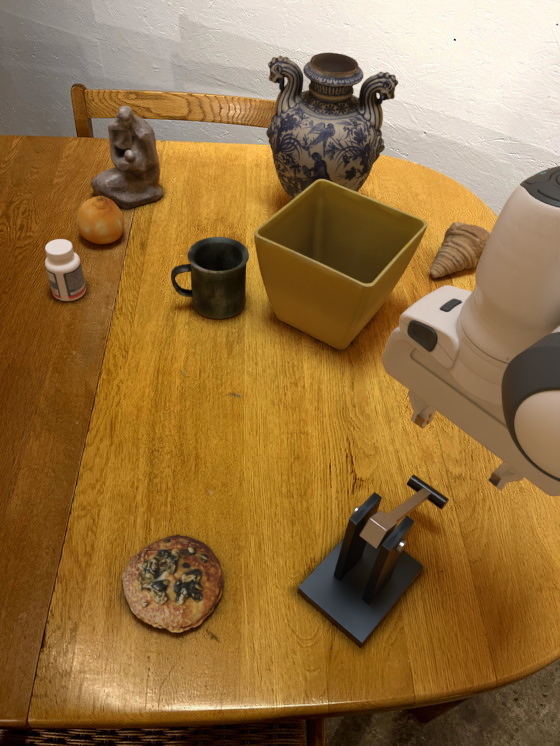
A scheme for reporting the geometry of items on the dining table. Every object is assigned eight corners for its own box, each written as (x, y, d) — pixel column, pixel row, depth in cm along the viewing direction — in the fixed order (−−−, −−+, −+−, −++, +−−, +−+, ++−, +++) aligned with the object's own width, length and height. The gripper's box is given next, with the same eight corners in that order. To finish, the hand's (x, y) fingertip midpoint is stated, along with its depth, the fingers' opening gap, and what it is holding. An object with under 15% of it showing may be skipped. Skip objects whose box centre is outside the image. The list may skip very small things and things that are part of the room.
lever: (407, 485, 80) (417, 470, 79) (442, 510, 78) (452, 494, 77) (347, 527, 66) (358, 508, 65) (387, 558, 64) (399, 540, 63)
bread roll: (219, 533, 77) (217, 517, 73) (228, 631, 71) (227, 619, 67) (124, 545, 76) (117, 530, 72) (125, 645, 70) (117, 635, 66)
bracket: (360, 523, 80) (380, 458, 70) (421, 570, 76) (452, 509, 66) (296, 591, 73) (308, 531, 63) (360, 647, 70) (383, 592, 59)
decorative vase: (373, 193, 130) (401, 47, 110) (368, 247, 118) (399, 95, 97) (268, 178, 132) (276, 31, 111) (252, 231, 119) (258, 77, 98)
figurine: (89, 208, 121) (72, 114, 107) (98, 174, 128) (83, 83, 115) (161, 210, 122) (153, 118, 108) (165, 176, 129) (159, 86, 116)
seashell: (432, 295, 117) (470, 298, 111) (413, 263, 112) (453, 264, 106) (467, 241, 121) (506, 241, 115) (450, 208, 116) (490, 206, 110)
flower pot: (407, 306, 108) (431, 220, 95) (351, 374, 96) (370, 287, 84) (309, 262, 114) (320, 176, 102) (247, 321, 103) (250, 233, 90)
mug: (252, 318, 103) (255, 268, 96) (177, 327, 101) (173, 278, 93) (241, 282, 109) (242, 233, 102) (169, 290, 106) (165, 241, 99)
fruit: (140, 230, 113) (118, 186, 110) (102, 252, 109) (78, 208, 106) (120, 231, 119) (98, 190, 116) (83, 252, 116) (60, 211, 112)
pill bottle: (89, 281, 107) (80, 237, 100) (82, 303, 103) (73, 258, 97) (56, 280, 106) (45, 235, 100) (48, 301, 103) (36, 256, 96)
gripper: (639, 409, 50) (568, 503, 60) (431, 275, 60) (400, 376, 70) (599, 452, 47) (532, 543, 57) (386, 304, 56) (361, 405, 67)
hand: (458, 450), depth 64 cm, fingers open, 8 cm apart
